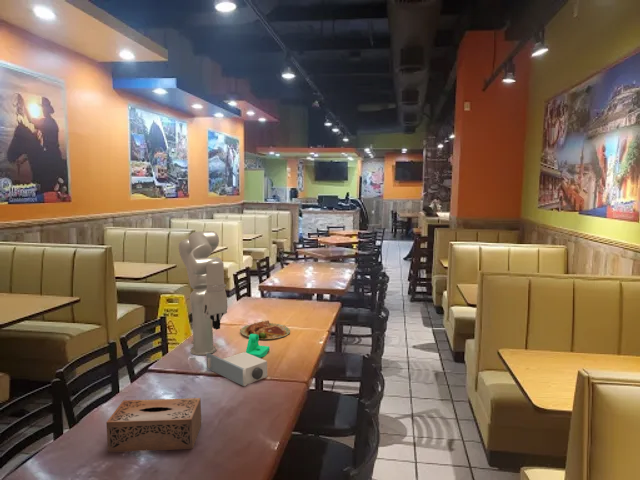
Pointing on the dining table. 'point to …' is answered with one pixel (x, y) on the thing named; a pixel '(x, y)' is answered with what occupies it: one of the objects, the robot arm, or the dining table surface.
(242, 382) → the side door
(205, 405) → the dining table surface
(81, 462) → the dining table surface
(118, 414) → the tissue box cover
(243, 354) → the block
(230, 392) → the dining table surface
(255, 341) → the camera mount
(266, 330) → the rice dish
